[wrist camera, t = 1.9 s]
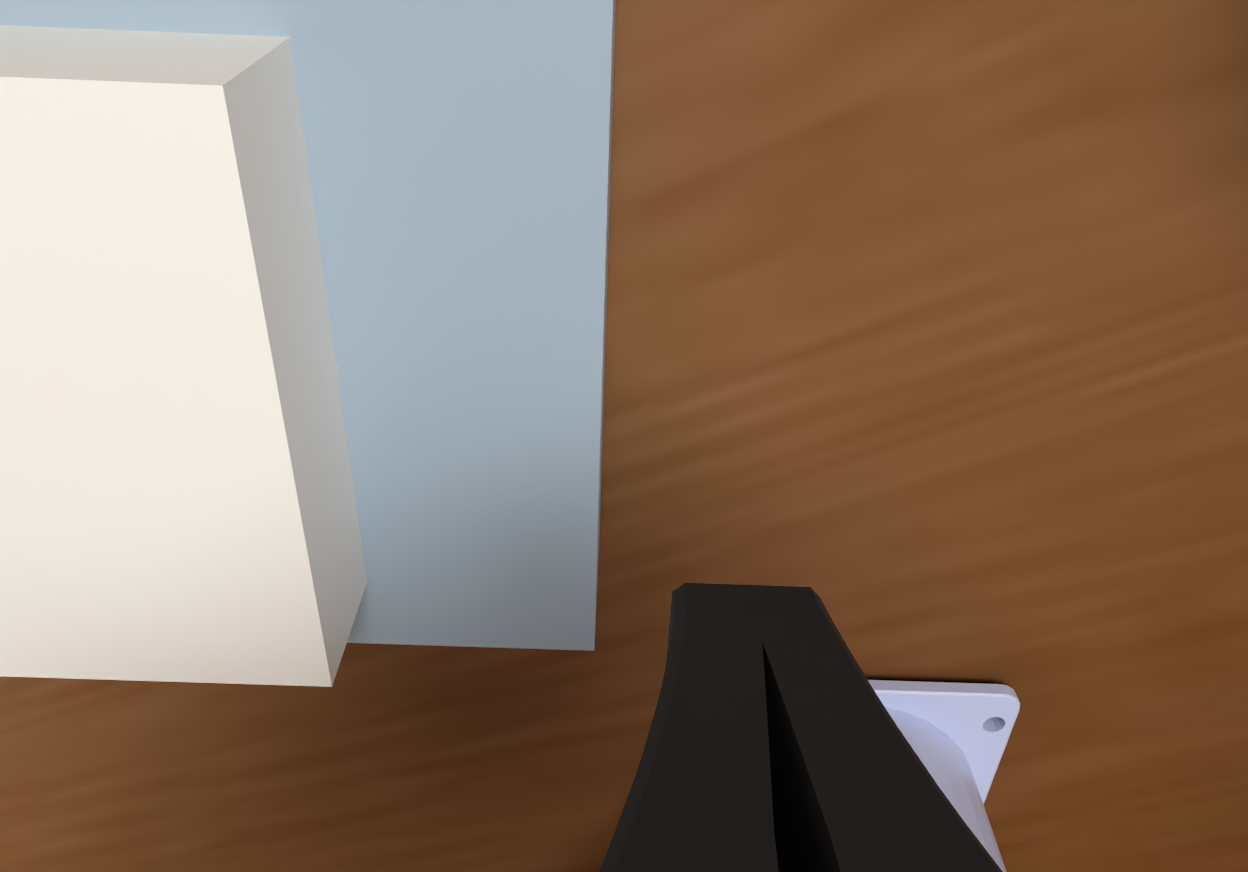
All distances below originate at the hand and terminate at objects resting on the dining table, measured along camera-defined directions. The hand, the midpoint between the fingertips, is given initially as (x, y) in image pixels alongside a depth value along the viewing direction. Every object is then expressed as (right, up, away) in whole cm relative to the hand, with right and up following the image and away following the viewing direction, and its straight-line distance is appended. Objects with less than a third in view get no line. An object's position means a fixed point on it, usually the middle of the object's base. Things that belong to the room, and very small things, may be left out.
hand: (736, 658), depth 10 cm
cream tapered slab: (-8, +3, +4) cm, 10 cm away
